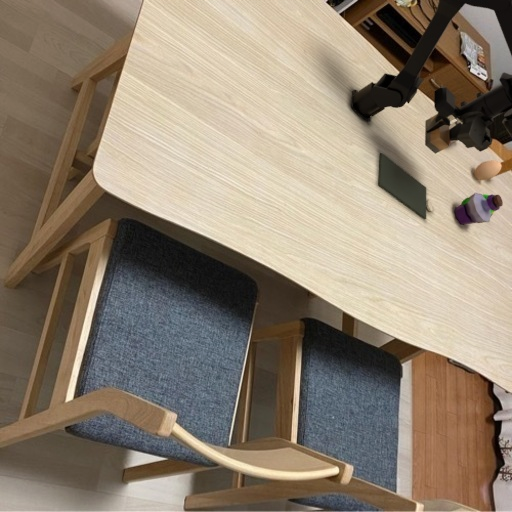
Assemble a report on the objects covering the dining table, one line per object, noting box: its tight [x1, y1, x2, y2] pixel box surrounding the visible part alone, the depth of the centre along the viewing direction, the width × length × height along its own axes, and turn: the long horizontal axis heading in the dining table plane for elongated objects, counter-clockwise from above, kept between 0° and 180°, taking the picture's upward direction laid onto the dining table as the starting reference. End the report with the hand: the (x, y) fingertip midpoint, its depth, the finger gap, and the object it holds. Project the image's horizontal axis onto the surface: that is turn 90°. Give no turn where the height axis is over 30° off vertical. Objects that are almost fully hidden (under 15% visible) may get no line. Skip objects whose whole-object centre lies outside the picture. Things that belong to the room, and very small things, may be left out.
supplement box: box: [493, 157, 512, 178], centre depth 174 cm, size 3×3×10 cm
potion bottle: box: [453, 192, 504, 226], centre depth 154 cm, size 9×9×12 cm
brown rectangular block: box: [424, 113, 451, 155], centre depth 137 cm, size 4×8×4 cm, turn 168°
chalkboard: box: [377, 152, 427, 220], centre depth 143 cm, size 18×10×1 cm, turn 79°
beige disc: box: [426, 199, 434, 212], centre depth 148 cm, size 3×3×1 cm
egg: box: [473, 160, 501, 181], centre depth 170 cm, size 5×5×8 cm
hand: (431, 136), depth 138 cm, fingers closed on brown rectangular block, 4 cm apart
